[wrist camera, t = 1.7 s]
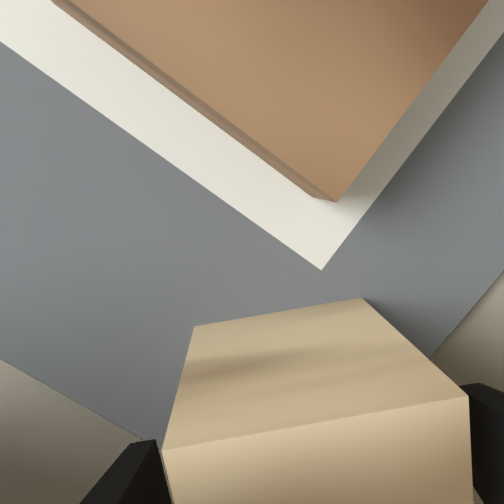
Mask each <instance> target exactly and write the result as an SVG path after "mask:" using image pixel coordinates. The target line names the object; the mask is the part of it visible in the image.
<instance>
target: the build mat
mask: <svg viewBox="0 0 504 504" xmlns="http://www.w3.org/2000/svg"><path fill="white" fill-rule="evenodd" d="M503 271H504V0H489V1H488V2H487V3H486V5H485V6H484V7H483V9H482V10H481V11H480V13H479V14H478V15H477V17H476V18H475V19H474V21H473V22H472V23H471V25H470V26H469V27H468V29H467V30H466V31H465V33H464V34H463V35H462V37H461V38H460V39H459V41H458V42H457V43H456V45H455V46H454V47H453V49H452V50H451V51H450V53H449V54H448V55H447V57H446V58H445V59H444V61H443V62H442V63H441V65H440V66H439V67H438V69H437V70H436V71H435V73H434V74H433V75H432V77H431V78H430V79H429V81H428V82H427V83H426V85H425V86H424V87H423V89H422V90H421V91H420V93H419V94H418V96H417V97H416V98H415V100H414V101H413V102H412V104H411V105H410V106H409V108H408V109H407V110H406V112H405V113H404V114H403V116H402V117H401V118H400V120H399V121H398V122H397V124H396V125H395V126H394V128H393V129H392V130H391V132H390V133H389V134H388V136H387V137H386V138H385V140H384V141H383V142H382V144H381V145H380V146H379V148H378V149H377V150H376V152H375V153H374V154H373V156H372V157H371V158H370V160H369V161H368V162H367V164H366V165H365V166H364V168H363V169H362V170H361V172H360V173H359V174H358V176H357V177H356V178H355V180H354V181H353V182H352V184H351V185H350V186H349V188H348V189H347V190H346V192H345V193H344V194H343V196H342V197H341V198H340V200H339V201H338V202H337V203H336V202H332V201H327V200H323V199H318V198H314V197H311V196H310V195H308V194H307V193H306V192H304V191H303V190H302V189H300V188H299V187H298V186H296V185H295V184H294V183H292V182H291V181H290V180H288V179H287V178H286V177H284V176H283V175H282V174H280V173H279V172H278V171H276V170H275V169H274V168H272V167H271V166H270V165H268V164H267V163H266V162H264V161H263V160H262V159H260V158H259V157H258V156H256V155H255V154H254V153H252V152H251V151H250V150H248V149H247V148H246V147H244V146H243V145H242V144H240V143H239V142H238V141H236V140H235V139H234V138H232V137H231V136H230V135H228V134H227V133H226V132H224V131H223V130H222V129H220V128H219V127H218V126H216V125H215V124H214V123H212V122H211V121H210V120H208V119H207V118H206V117H204V116H203V115H202V114H200V113H199V112H198V111H196V110H195V109H194V108H192V107H191V106H190V105H188V104H187V103H186V102H184V101H183V100H182V99H180V98H179V97H178V96H176V95H175V94H174V93H172V92H171V91H170V90H168V89H167V88H166V87H164V86H163V85H162V84H160V83H159V82H158V81H156V80H155V79H154V78H152V77H151V76H150V75H148V74H147V73H146V72H144V71H143V70H142V69H140V68H139V67H138V66H136V65H135V64H134V63H132V62H131V61H130V60H128V59H127V58H126V57H124V56H123V55H122V54H120V53H119V52H118V51H116V50H115V49H114V48H112V47H111V46H110V45H108V44H107V43H106V42H104V41H103V40H102V39H100V38H99V37H98V36H96V35H95V34H94V33H92V32H91V31H90V30H88V29H87V28H86V27H84V26H83V25H82V24H80V23H79V22H78V21H76V20H75V19H74V18H72V17H71V16H70V15H68V14H67V13H66V12H64V11H63V10H62V9H60V8H59V7H58V6H56V5H55V4H54V3H53V2H52V1H51V0H0V359H1V360H3V361H5V362H7V363H8V364H10V365H12V366H14V367H15V368H17V369H19V370H21V371H23V372H24V373H26V374H28V375H30V376H31V377H33V378H35V379H37V380H38V381H40V382H42V383H44V384H45V385H47V386H49V387H51V388H52V389H54V390H56V391H58V392H60V393H61V394H63V395H65V396H67V397H68V398H70V399H72V400H74V401H75V402H77V403H79V404H81V405H82V406H84V407H86V408H88V409H89V410H91V411H93V412H95V413H97V414H98V415H100V416H102V417H104V418H105V419H107V420H109V421H111V422H112V423H114V424H116V425H118V426H119V427H121V428H123V429H125V430H127V431H128V432H130V433H132V434H134V435H135V436H137V437H139V438H141V439H142V440H144V441H147V440H153V439H156V442H157V446H158V449H160V450H162V446H163V443H164V439H165V435H166V431H167V427H168V424H169V420H170V416H171V412H172V409H173V405H174V401H175V397H176V393H177V390H178V386H179V382H180V378H181V375H182V371H183V367H184V363H185V360H186V356H187V352H188V348H189V344H190V341H191V337H192V333H193V329H194V326H200V325H205V324H211V323H217V322H223V321H229V320H234V319H240V318H246V317H252V316H257V315H263V314H269V313H275V312H281V311H286V310H292V309H298V308H304V307H310V306H315V305H321V304H327V303H333V302H339V301H344V300H350V299H356V298H363V299H364V300H365V301H366V302H367V303H368V304H369V305H370V306H371V307H372V308H373V309H375V310H376V311H377V312H378V313H379V314H380V315H381V316H382V317H383V318H384V319H385V320H387V321H388V322H389V323H390V324H391V325H392V326H393V327H394V328H395V329H396V330H397V331H398V332H400V333H401V334H402V335H403V336H404V337H405V338H406V339H407V340H408V341H409V342H410V343H412V344H413V345H414V346H415V347H416V348H417V349H418V350H419V351H420V352H421V353H422V354H424V355H425V356H426V357H427V358H428V359H429V358H430V357H431V356H432V355H433V353H434V352H435V351H436V350H437V349H438V348H439V346H440V345H441V344H442V343H443V342H444V340H445V339H446V338H447V337H448V336H449V335H450V333H451V332H452V331H453V330H454V329H455V327H456V326H457V325H458V324H459V323H460V322H461V320H462V319H463V318H464V317H465V316H466V314H467V313H468V312H469V311H470V310H471V309H472V307H473V306H474V305H475V304H476V303H477V301H478V300H479V299H480V298H481V297H482V296H483V294H484V293H485V292H486V291H487V290H488V288H489V287H490V286H491V285H492V284H493V283H494V281H495V280H496V279H497V278H498V277H499V275H500V274H501V273H502V272H503Z"/></svg>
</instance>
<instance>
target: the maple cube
mask: <svg viewBox="0 0 504 504" xmlns="http://www.w3.org/2000/svg"><path fill="white" fill-rule="evenodd" d="M161 451H162V455H163V459H164V464H165V468H166V472H167V476H168V480H169V484H170V488H171V492H172V496H173V500H174V504H474V503H473V482H472V461H471V439H470V418H469V396H468V395H467V394H466V393H465V392H464V391H463V390H462V389H461V388H459V387H458V386H457V385H456V384H455V383H454V382H453V381H452V380H451V379H450V378H449V377H447V376H446V375H445V374H444V373H443V372H442V371H441V370H440V369H439V368H438V367H437V366H435V365H434V364H433V363H432V362H431V361H430V360H429V359H428V358H427V357H426V356H425V355H424V354H422V353H421V352H420V351H419V350H418V349H417V348H416V347H415V346H414V345H413V344H412V343H410V342H409V341H408V340H407V339H406V338H405V337H404V336H403V335H402V334H401V333H400V332H398V331H397V330H396V329H395V328H394V327H393V326H392V325H391V324H390V323H389V322H388V321H387V320H385V319H384V318H383V317H382V316H381V315H380V314H379V313H378V312H377V311H376V310H375V309H373V308H372V307H371V306H370V305H369V304H368V303H367V302H366V301H365V300H364V299H363V298H356V299H350V300H344V301H339V302H333V303H327V304H321V305H315V306H310V307H304V308H298V309H292V310H286V311H281V312H275V313H269V314H263V315H257V316H252V317H246V318H240V319H234V320H229V321H223V322H217V323H211V324H205V325H200V326H194V329H193V333H192V337H191V341H190V344H189V348H188V352H187V356H186V360H185V363H184V367H183V371H182V375H181V378H180V382H179V386H178V390H177V393H176V397H175V401H174V405H173V409H172V412H171V416H170V420H169V424H168V427H167V431H166V435H165V439H164V443H163V446H162V450H161Z"/></svg>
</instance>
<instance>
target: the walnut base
mask: <svg viewBox="0 0 504 504" xmlns="http://www.w3.org/2000/svg"><path fill="white" fill-rule="evenodd" d="M51 1H52V2H53V3H54V4H55V5H56V6H58V7H59V8H60V9H62V10H63V11H64V12H66V13H67V14H68V15H70V16H71V17H72V18H74V19H75V20H76V21H78V22H79V23H80V24H82V25H83V26H84V27H86V28H87V29H88V30H90V31H91V32H92V33H94V34H95V35H96V36H98V37H99V38H100V39H102V40H103V41H104V42H106V43H107V44H108V45H110V46H111V47H112V48H114V49H115V50H116V51H118V52H119V53H120V54H122V55H123V56H124V57H126V58H127V59H128V60H130V61H131V62H132V63H134V64H135V65H136V66H138V67H139V68H140V69H142V70H143V71H144V72H146V73H147V74H148V75H150V76H151V77H152V78H154V79H155V80H156V81H158V82H159V83H160V84H162V85H163V86H164V87H166V88H167V89H168V90H170V91H171V92H172V93H174V94H175V95H176V96H178V97H179V98H180V99H182V100H183V101H184V102H186V103H187V104H188V105H190V106H191V107H192V108H194V109H195V110H196V111H198V112H199V113H200V114H202V115H203V116H204V117H206V118H207V119H208V120H210V121H211V122H212V123H214V124H215V125H216V126H218V127H219V128H220V129H222V130H223V131H224V132H226V133H227V134H228V135H230V136H231V137H232V138H234V139H235V140H236V141H238V142H239V143H240V144H242V145H243V146H244V147H246V148H247V149H248V150H250V151H251V152H252V153H254V154H255V155H256V156H258V157H259V158H260V159H262V160H263V161H264V162H266V163H267V164H268V165H270V166H271V167H272V168H274V169H275V170H276V171H278V172H279V173H280V174H282V175H283V176H284V177H286V178H287V179H288V180H290V181H291V182H292V183H294V184H295V185H296V186H298V187H299V188H300V189H302V190H303V191H304V192H306V193H307V194H308V195H310V196H311V197H314V198H318V199H323V200H327V201H332V202H336V203H337V202H338V201H339V200H340V198H341V197H342V196H343V194H344V193H345V192H346V190H347V189H348V188H349V186H350V185H351V184H352V182H353V181H354V180H355V178H356V177H357V176H358V174H359V173H360V172H361V170H362V169H363V168H364V166H365V165H366V164H367V162H368V161H369V160H370V158H371V157H372V156H373V154H374V153H375V152H376V150H377V149H378V148H379V146H380V145H381V144H382V142H383V141H384V140H385V138H386V137H387V136H388V134H389V133H390V132H391V130H392V129H393V128H394V126H395V125H396V124H397V122H398V121H399V120H400V118H401V117H402V116H403V114H404V113H405V112H406V110H407V109H408V108H409V106H410V105H411V104H412V102H413V101H414V100H415V98H416V97H417V96H418V94H419V93H420V91H421V90H422V89H423V87H424V86H425V85H426V83H427V82H428V81H429V79H430V78H431V77H432V75H433V74H434V73H435V71H436V70H437V69H438V67H439V66H440V65H441V63H442V62H443V61H444V59H445V58H446V57H447V55H448V54H449V53H450V51H451V50H452V49H453V47H454V46H455V45H456V43H457V42H458V41H459V39H460V38H461V37H462V35H463V34H464V33H465V31H466V30H467V29H468V27H469V26H470V25H471V23H472V22H473V21H474V19H475V18H476V17H477V15H478V14H479V13H480V11H481V10H482V9H483V7H484V6H485V5H486V3H487V2H488V1H489V0H51Z"/></svg>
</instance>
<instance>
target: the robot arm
mask: <svg viewBox="0 0 504 504" xmlns="http://www.w3.org/2000/svg"><path fill="white" fill-rule="evenodd" d="M458 387H459V388H461V389H462V390H463V391H464V392H465V393H466V394H467V395H468V396H469V418H470V439H471V461H472V482H473V487H474V488H475V490H476V491H477V493H478V494H479V496H480V498H481V499H482V501H483V502H484V504H504V393H503V392H501V391H498V390H496V389H494V388H491V387H489V386H486V385H483V384H481V383H474V384H469V385H463V386H458ZM80 504H172V503H171V499H170V495H169V491H168V487H167V483H166V479H165V475H164V471H163V467H162V463H161V459H160V455H159V450H158V446H157V442H156V439H153V440H147V441H141V442H136V443H130V444H129V445H128V447H127V448H126V449H125V450H124V451H123V452H122V453H121V455H120V456H119V457H118V458H117V459H116V461H115V462H114V463H113V464H112V465H111V467H110V468H109V469H108V470H107V471H106V473H105V474H104V475H103V476H102V477H101V479H100V480H99V481H98V482H97V483H96V485H95V486H94V487H93V488H92V489H91V491H90V492H89V493H88V494H87V495H86V496H85V498H84V499H83V500H82V501H81V502H80Z"/></svg>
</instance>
